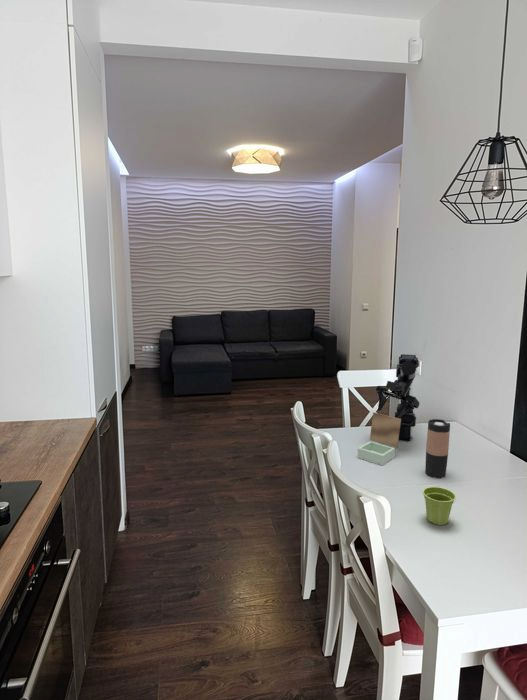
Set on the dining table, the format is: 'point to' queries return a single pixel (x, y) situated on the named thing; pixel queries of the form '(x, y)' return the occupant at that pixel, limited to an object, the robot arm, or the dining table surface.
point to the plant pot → (438, 504)
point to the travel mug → (437, 448)
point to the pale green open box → (376, 453)
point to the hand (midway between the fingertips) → (387, 414)
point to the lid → (385, 429)
